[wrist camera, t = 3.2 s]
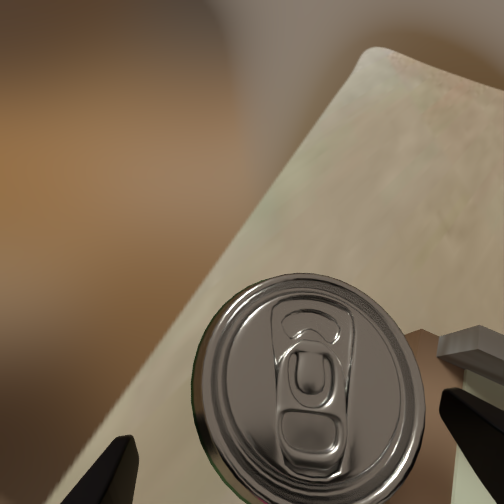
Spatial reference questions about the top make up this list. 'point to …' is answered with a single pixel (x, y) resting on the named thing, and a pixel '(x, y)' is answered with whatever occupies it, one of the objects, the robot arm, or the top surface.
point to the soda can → (307, 394)
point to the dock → (436, 433)
